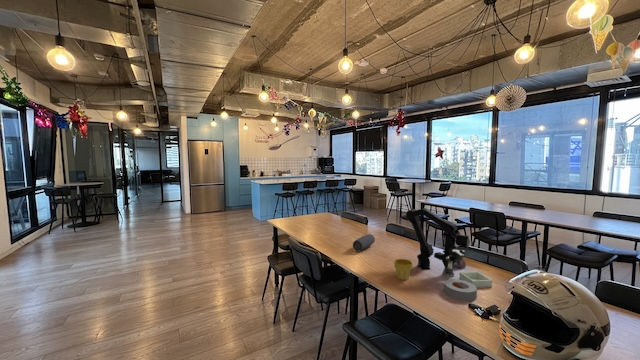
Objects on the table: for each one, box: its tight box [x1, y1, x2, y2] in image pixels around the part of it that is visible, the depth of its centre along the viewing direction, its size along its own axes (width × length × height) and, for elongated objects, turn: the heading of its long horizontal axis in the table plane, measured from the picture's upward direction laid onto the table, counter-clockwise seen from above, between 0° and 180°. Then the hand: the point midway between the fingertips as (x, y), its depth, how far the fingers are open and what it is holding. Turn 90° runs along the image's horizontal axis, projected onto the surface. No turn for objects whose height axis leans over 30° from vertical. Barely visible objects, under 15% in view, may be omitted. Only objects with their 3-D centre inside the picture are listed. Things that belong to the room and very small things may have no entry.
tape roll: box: [443, 278, 478, 303], centre depth 142 cm, size 15×15×5 cm
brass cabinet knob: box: [443, 259, 454, 273], centre depth 165 cm, size 5×5×7 cm
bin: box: [459, 271, 493, 289], centre depth 155 cm, size 12×12×4 cm
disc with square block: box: [442, 269, 455, 278], centre depth 166 cm, size 6×6×2 cm
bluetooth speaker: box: [352, 233, 376, 252], centre depth 212 cm, size 23×9×10 cm, turn 144°
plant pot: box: [393, 258, 413, 281], centre depth 161 cm, size 10×10×10 cm
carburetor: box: [448, 257, 467, 269], centre depth 180 cm, size 11×11×12 cm
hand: (448, 268), depth 165 cm, fingers closed on brass cabinet knob, 4 cm apart
